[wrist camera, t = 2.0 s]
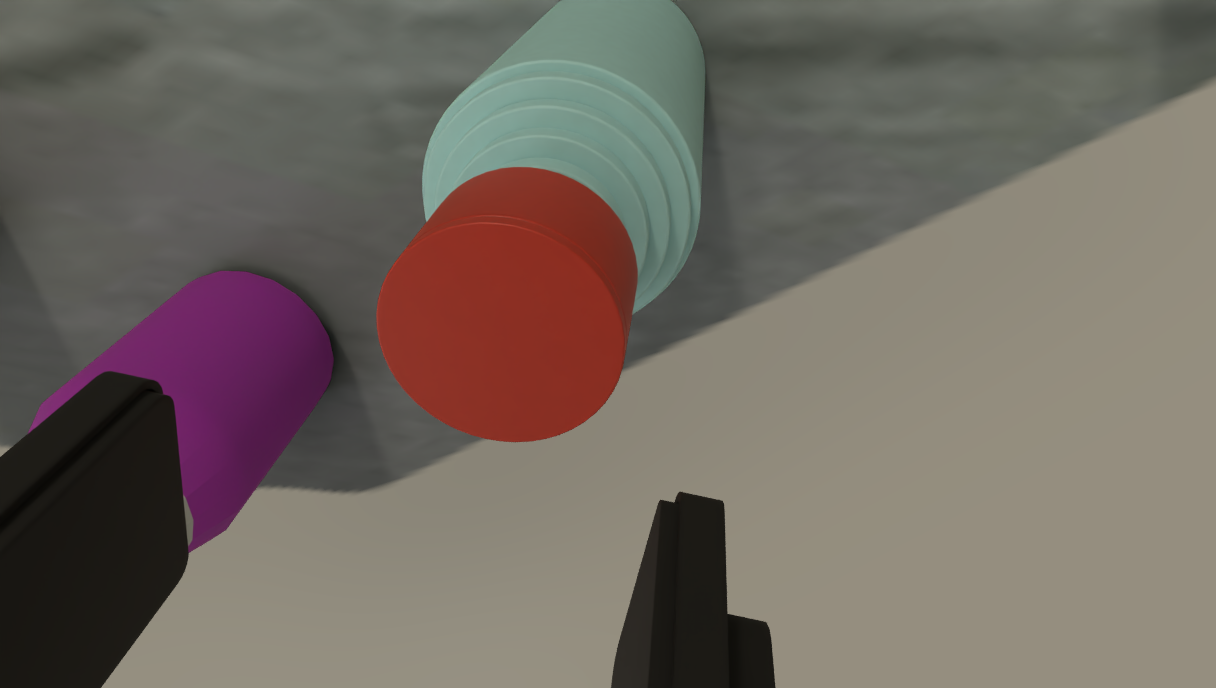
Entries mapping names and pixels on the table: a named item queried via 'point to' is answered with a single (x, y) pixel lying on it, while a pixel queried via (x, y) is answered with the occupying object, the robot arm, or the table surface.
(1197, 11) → the table surface
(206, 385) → the beverage can
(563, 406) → the cap
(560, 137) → the water bottle
